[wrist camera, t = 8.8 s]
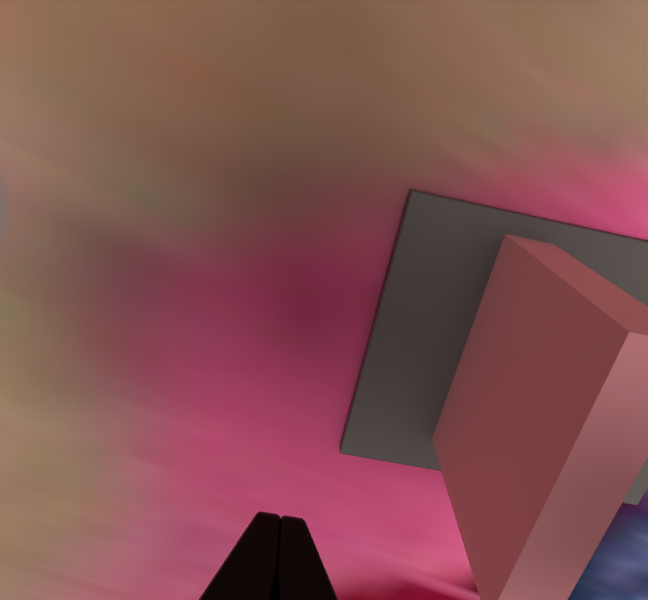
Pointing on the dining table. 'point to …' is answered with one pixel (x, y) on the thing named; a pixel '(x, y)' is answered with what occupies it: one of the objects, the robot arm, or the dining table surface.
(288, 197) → the dining table surface
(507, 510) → the pink rectangular block
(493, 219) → the mat
